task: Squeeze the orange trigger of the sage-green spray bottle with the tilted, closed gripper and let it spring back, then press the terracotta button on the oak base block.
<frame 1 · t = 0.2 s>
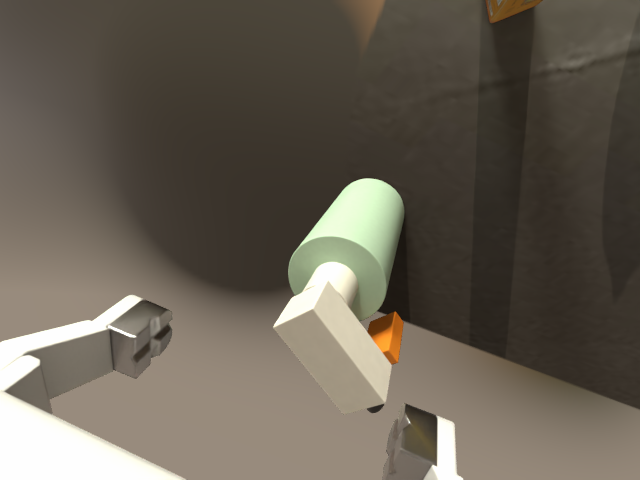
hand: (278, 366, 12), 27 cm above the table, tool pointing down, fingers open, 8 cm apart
trigger: (382, 340, 26), point 13 cm above the table, slide at -0.1 cm
spray bottle: (369, 211, 37), on the table
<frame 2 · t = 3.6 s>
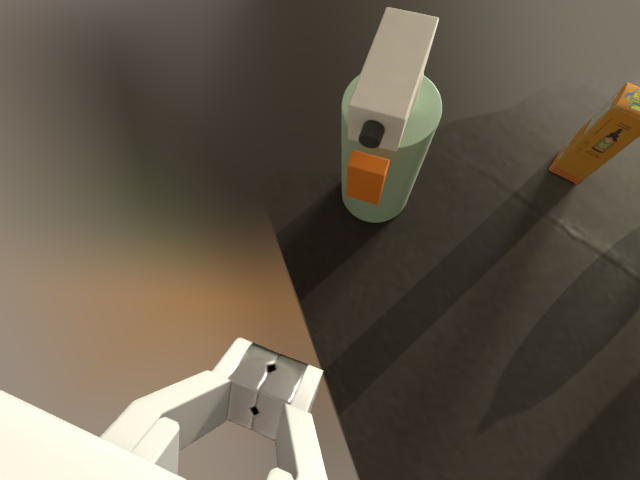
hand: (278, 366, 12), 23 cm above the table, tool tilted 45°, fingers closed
trigger: (366, 179, 24), point 13 cm above the table, slide at -0.1 cm
spray bottle: (374, 192, 39), on the table
supplement box: (566, 167, 39), on the table
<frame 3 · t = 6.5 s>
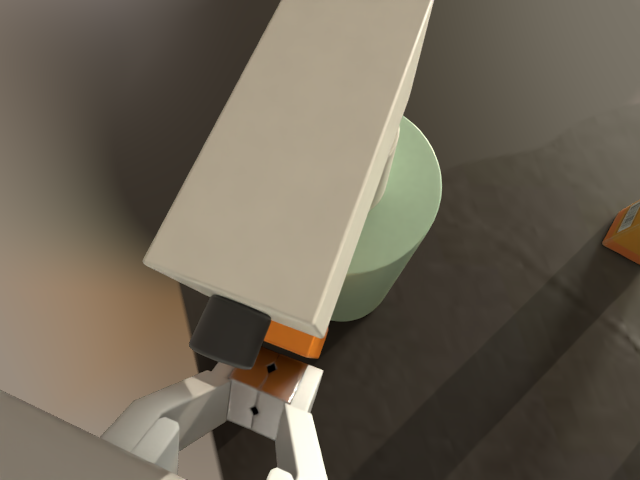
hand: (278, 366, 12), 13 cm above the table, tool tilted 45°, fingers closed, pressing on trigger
trigger: (286, 327, 12), point 13 cm above the table, slide at 0.4 cm, touching gripper
spray bottle: (341, 272, 26), on the table
supplement box: (628, 239, 26), on the table
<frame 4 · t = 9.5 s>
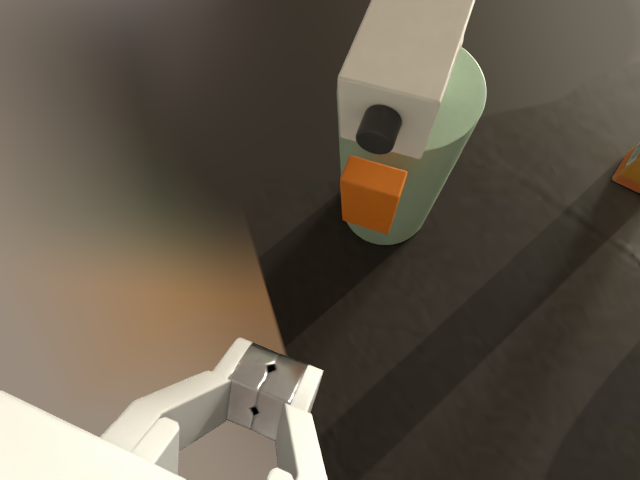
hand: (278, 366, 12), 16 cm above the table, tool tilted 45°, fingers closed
trigger: (370, 199, 16), point 13 cm above the table, slide at -0.1 cm
spray bottle: (384, 205, 30), on the table
supplement box: (635, 175, 30), on the table
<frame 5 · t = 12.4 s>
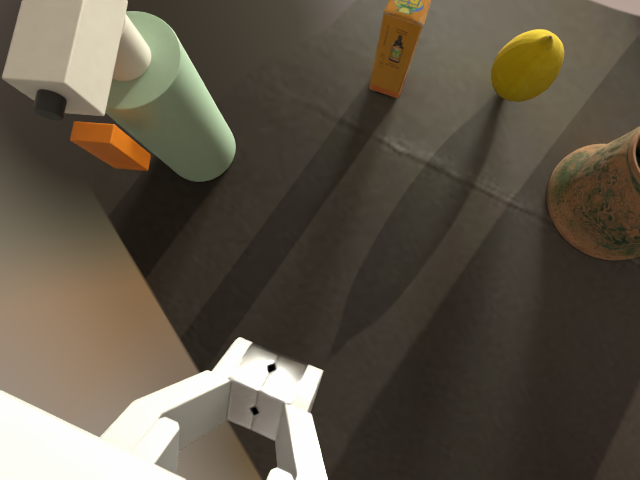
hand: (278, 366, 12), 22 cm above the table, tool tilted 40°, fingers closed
mug: (612, 174, 36), on the table
fruit: (503, 92, 38), on the table
trigger: (114, 148, 23), point 14 cm above the table, slide at -0.1 cm
spray bottle: (201, 149, 37), on the table
supplement box: (387, 82, 38), on the table
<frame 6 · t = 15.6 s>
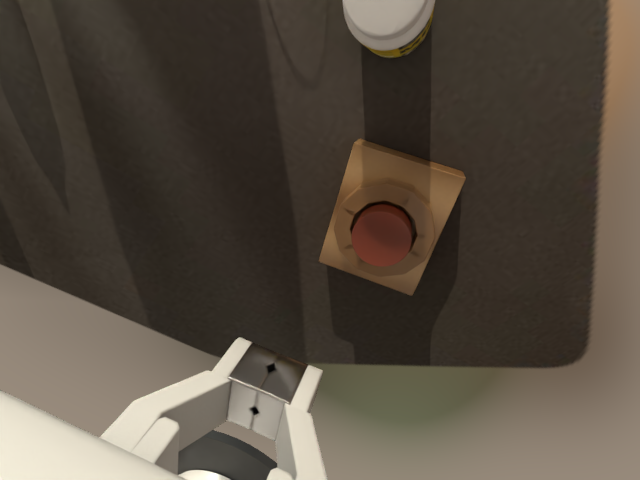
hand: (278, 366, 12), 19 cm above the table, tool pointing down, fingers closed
button: (382, 235, 25), point 4 cm above the table, slide at 0.1 cm
supplement bottle: (395, 18, 24), on the table
button block: (387, 214, 29), on the table
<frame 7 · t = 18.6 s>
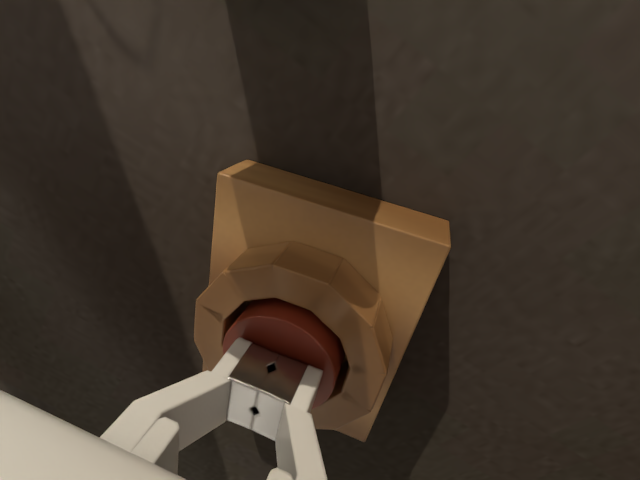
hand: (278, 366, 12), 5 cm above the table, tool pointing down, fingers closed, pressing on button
button: (285, 349, 13), point 4 cm above the table, slide at -0.7 cm, touching gripper
button block: (316, 293, 16), on the table
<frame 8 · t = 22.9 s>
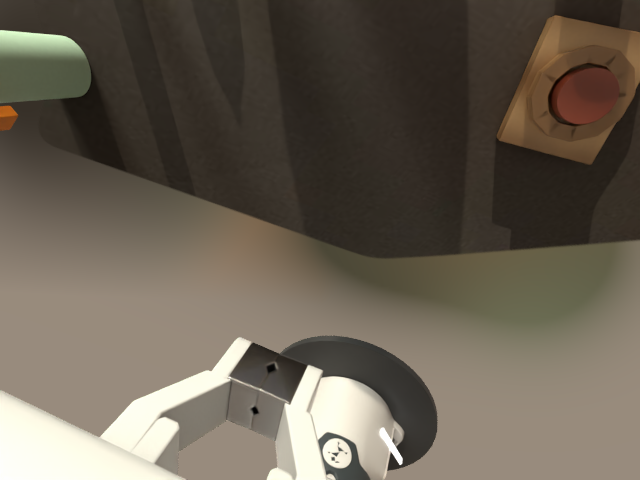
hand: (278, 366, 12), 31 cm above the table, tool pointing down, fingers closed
button: (583, 96, 28), point 4 cm above the table, slide at 0.1 cm
spray bottle: (68, 67, 46), on the table
button block: (566, 92, 32), on the table
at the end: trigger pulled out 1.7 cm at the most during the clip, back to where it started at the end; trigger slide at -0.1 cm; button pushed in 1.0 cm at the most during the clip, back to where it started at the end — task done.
